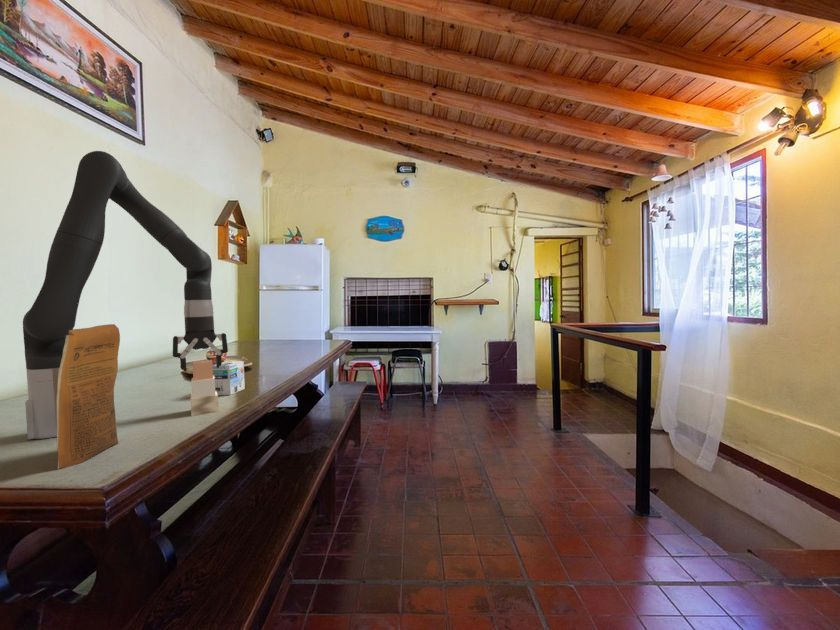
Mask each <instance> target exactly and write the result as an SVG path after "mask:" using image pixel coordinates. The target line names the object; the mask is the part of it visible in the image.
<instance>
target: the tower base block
mask: <svg viewBox="0 0 840 630" xmlns="http://www.w3.org/2000/svg"><path fill="white" fill-rule="evenodd" d="M189 399H190V415H191V417H194V416H200V415H201V416H202V415H206V414H214V413H218V412H219V411H220V410H219V395H218V394H217V392H216V391H215V395H214V396H206V397H199V398H192V393H190V394H189Z"/></svg>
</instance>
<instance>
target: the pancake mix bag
mask: <svg viewBox="0 0 840 630" xmlns="http://www.w3.org/2000/svg"><path fill="white" fill-rule="evenodd" d="M120 333H121V332H120V330H119V327H118V326H117V325H116V324H115V323H113V324H112V323H111V324H102V325H101V324H100V325H94V326H91V327H84V328H83V327H82V328H73V330H69V335H66V339H65V345H64V349H63V355H62V360H61V364H60V370H59V376H58V385H57V436H56V439H57V440H56V441H57V443H56V446H57V448H56V449H57V453H58V454H57V470H58V469H62V468H64V469H65V468H68V467H72V466H75V465H76V466H77V465H79V464H81V463H84V461H85V462H87V461H88V459H89V460H90V459H92V458H94V457H95V455H96V456H97V455H99V454H101V453H103V452H105V451H106V450H108V449H110V448H111V446H112V447H114V446H115V445H117V444H119V439H118V431H117V418H116V409H115V386H116V380H117V376H118V366H119V363H118V362H119V360H118V359H119V357H118V356H119V348H120V344H121V343H120V341H121V335H120ZM109 447H110V448H109ZM102 451H103V452H102ZM100 452H101V453H100ZM98 453H99V454H98ZM93 456H94V457H93ZM91 457H92V458H91ZM86 460H87V461H86Z"/></svg>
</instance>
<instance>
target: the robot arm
mask: <svg viewBox="0 0 840 630" xmlns="http://www.w3.org/2000/svg"><path fill="white" fill-rule="evenodd" d="M77 166H78V167H77V170H76V174H75V175H76V176H75V181H74V184H73V189H72V194H71V196H70V199H69V201H68V203H67V206H66V209H65V210H64V212H63V215H62V218H61V221H60V223H59V225H58V228H57V230H56V232H55V234H54V238H53V241H52V244H51V245H50V248H49V252H48V253H49V254H48V258H47V262H46V268H45V269H46V271H45V276H44V281H43V283H42V286H41V288H40V290H39V293H38V295H37V296H36V299H35V300H34V302H33V303H32V306H31V307H30V308H29V310H28V311H27V312H26V313H25V314H24V316H23V318H22V331H23V332H22V333H23V335H22V336H23V343H24V357H25V358H24V359H25V369H26V370H25V371H26V382H27V383H26V384H27V396H28V398H27V399H26V401H25V414H26V415H25V417H26V432H27V440H34V439H35V440H36V439H38V440H39V439H50V438H55V437H56V438H57V385H58V376H59V370H60V364H61V360H62V355H63V349H64V345H65V339H66V335H69V330H73V329H75V326H76V319H77V313H78V308H79V304H80V300H81V296H82V293H83V289H84V287H85V285H86V283H87V281H88V280H89V278H90V276H91V274H92V272H93V269H94V268H95V265H96V262H97V260H98V257H99V254H100V252H101V249H102V247H103V244H104V239H105V231H106V212H107V205H108V201H109V200H111V201H112V202H114V203H115V204H117V206H119V207H120V208H122V209H123V210H124V211H125V212H126V213H128V214H129V216H131V217H132V218H133V219H134V220H135V221H136V222H137V223H138V224H139V225H140V227H142V229H144V230H145V231H146V232H147V234H149V235H150V236H151V237H153V239H154V240H155V241H156V242H158V243H159V244H160V245H161V246H162V247H164V248H165V249H166V250H167V251H168V253H170V254H171V255H172V257H173V258H174V259H175V260H176V261H177V262H178V263H179V264H180V265H181V266H182V267H183V268H185V269H186V272H185V273H186V281H185V282H184V286H183V294H184V295H183V296H184V304H183V315H184V330H185V331H184V335H183V336H177V335H174V336H173V338H172V357H174V358H178V359H179V360H180V363H179V364H180V369H181V370H183V372H187V358H186V357H187V355H188V354H189V353H190V352H191V351H192V350H196V351H197V350H201V349H202V350H206V349H209V348H210V349H211V350H212V351H213V352H214V353H216V354H215V365H216V367H217V368H219V366H221V364H222V363H223V362H222V355H224V354H226V353H228V352H229V348H228V341H227V339H228V338H227V334H226V333H224V332H222V333H217V334H216V332H215V323H214V322H215V319H214V305H213V298H212V287H211V285H212V284H211V281H212V271H213V266H212V259H211V257H210V255H209V253H208V252H206V251H205V250H203V249H202V248H201V247H199V246H198V245H197V244H196V243H195V242H194V241H193V240H191V238H190V237H188V235H187V234H186V233H185V232H184V230H183V229H182V228H181V227H180V226H179V225H178V224H177V223H176V222H174V220H173V219H172V218H170V216H168V215H167V214H166V213H164V212H163V211H162V210H161V209H159V208H158V207H156V206H155V205H153V203H151V202H149V201H148V199H146V197H144V196H143V194H142V193H140V191H138V189H137V188H136V187H135V185H134V184H133V183H132V181H130V179H129V178H128V176H127V173H126V171H125V170H124V169H123V166H122V165H121V163H120V162H119V161H118V159H116V157H115V156H113V155H112V154H111V153H108V152H106V151H102V150H93V151H91V152H90V151H89V152H88V153H86V154H85V155H83V156H82V158H81V159H80V160H79V164H78V165H77ZM216 339H218V340H219V341H220V342H221V345H222V349H219V348H218V347H217V346H216V345H215V344H214V342H215V341H216ZM182 341H184V342H185V343H186V344H187V346H186V347H185V348H184V349H183V351H182V352H178V350H179V344H181V343H182Z"/></svg>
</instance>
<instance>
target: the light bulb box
mask: <svg viewBox="0 0 840 630" xmlns="http://www.w3.org/2000/svg"><path fill="white" fill-rule="evenodd" d="M244 363H245V362H244V360H226V361H224V362H222V364H221V366H219V368H217V367H216V364H214V365H213V376H214V377H215V391H216V392H217V394H218V396H231V395H234V394H236V393H238V392H240V391H243V390H245V388H246V387H245V386H246V383H245V364H244Z"/></svg>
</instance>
